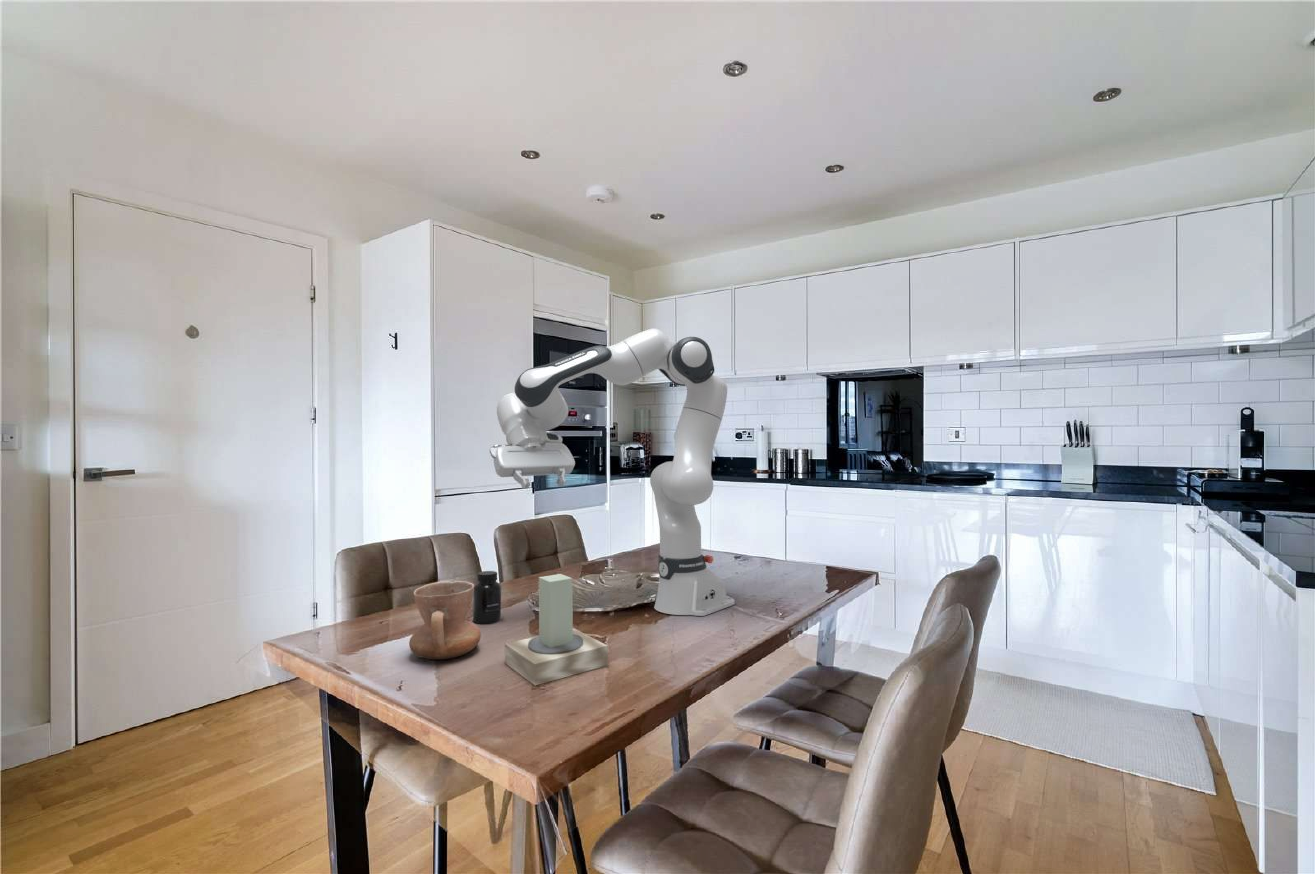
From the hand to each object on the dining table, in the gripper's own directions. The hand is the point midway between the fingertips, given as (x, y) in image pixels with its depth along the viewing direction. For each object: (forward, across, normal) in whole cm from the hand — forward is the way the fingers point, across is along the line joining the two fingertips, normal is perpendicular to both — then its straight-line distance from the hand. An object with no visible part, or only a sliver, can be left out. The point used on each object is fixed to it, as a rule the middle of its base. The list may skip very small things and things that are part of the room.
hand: (544, 485), depth 147 cm
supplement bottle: (+14, -9, +35) cm, 39 cm away
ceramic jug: (+26, -25, +23) cm, 43 cm away
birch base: (+40, -9, +8) cm, 42 cm away
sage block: (+37, -9, +5) cm, 38 cm away
